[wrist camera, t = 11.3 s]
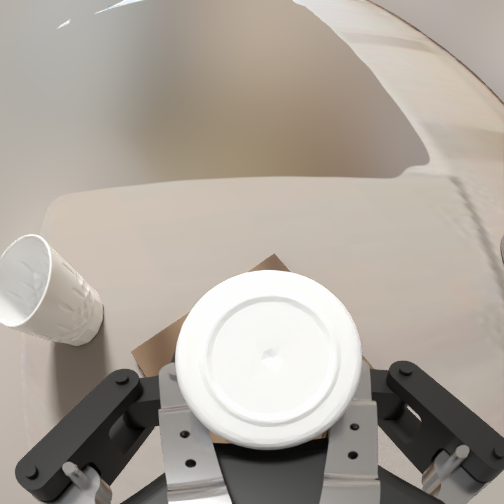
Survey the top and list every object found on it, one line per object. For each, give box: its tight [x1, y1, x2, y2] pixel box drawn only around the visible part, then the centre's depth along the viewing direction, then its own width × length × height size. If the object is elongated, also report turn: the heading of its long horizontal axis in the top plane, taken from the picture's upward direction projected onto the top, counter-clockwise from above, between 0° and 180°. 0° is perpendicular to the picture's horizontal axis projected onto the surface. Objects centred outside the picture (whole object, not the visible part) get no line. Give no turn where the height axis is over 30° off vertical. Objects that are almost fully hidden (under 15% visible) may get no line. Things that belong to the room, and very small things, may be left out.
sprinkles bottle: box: [175, 270, 362, 450], centre depth 12 cm, size 5×5×13 cm
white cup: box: [0, 234, 103, 346], centre depth 21 cm, size 8×8×10 cm
